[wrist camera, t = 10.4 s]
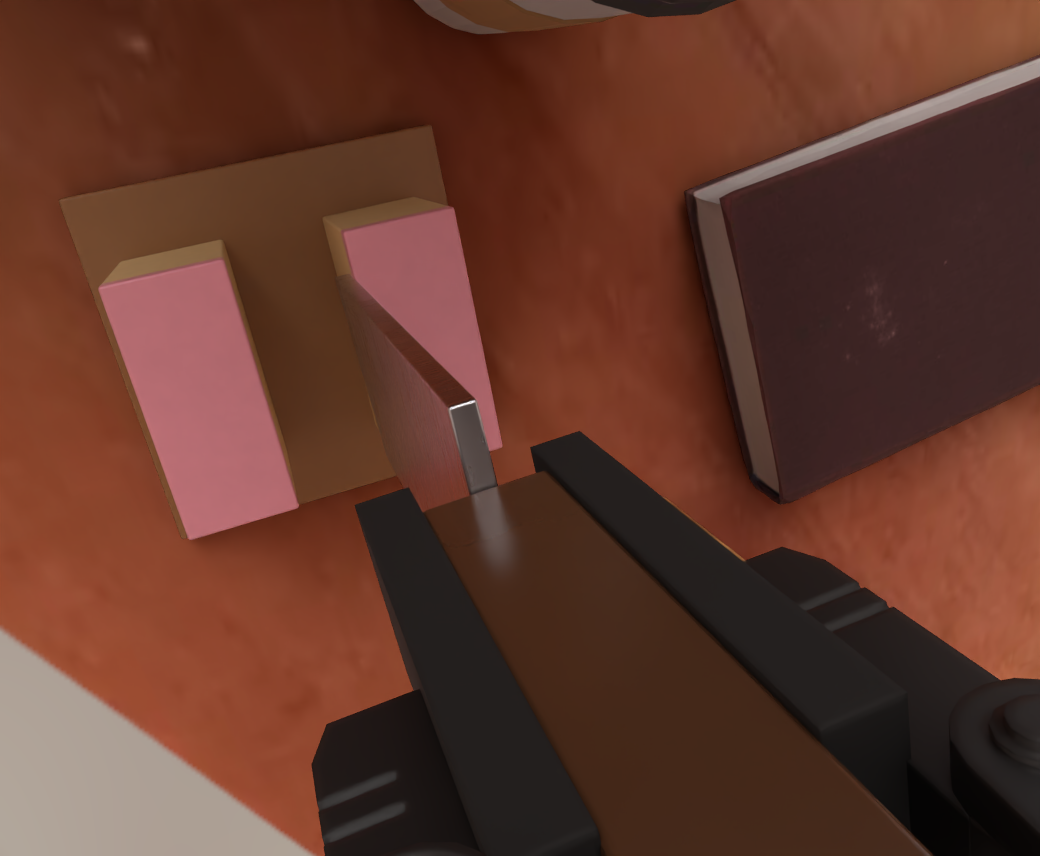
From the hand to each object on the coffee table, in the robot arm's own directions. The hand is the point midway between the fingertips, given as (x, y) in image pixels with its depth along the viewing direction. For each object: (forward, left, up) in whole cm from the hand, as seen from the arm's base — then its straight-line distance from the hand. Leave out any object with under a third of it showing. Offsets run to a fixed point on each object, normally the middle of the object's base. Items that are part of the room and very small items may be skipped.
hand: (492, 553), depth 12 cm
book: (+3, +23, -19) cm, 30 cm away
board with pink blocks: (0, -1, -18) cm, 18 cm away
